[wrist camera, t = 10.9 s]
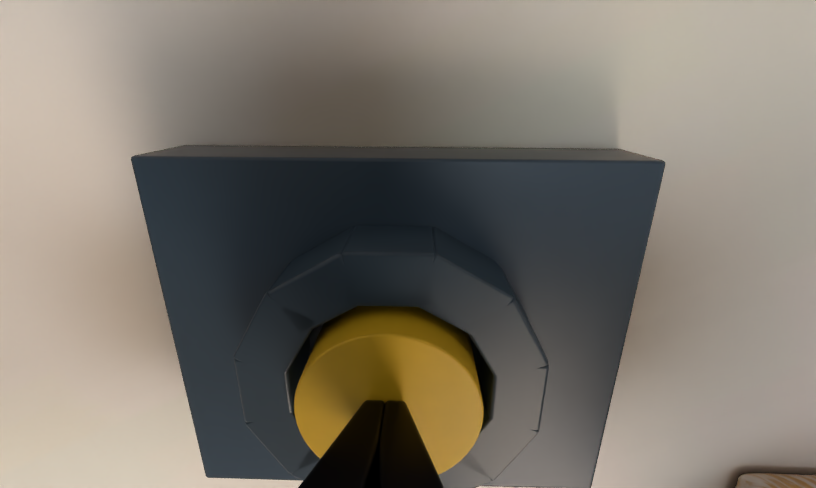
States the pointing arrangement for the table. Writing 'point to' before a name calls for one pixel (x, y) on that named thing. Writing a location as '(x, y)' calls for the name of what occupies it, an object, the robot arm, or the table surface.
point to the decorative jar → (776, 481)
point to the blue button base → (401, 286)
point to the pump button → (392, 378)
